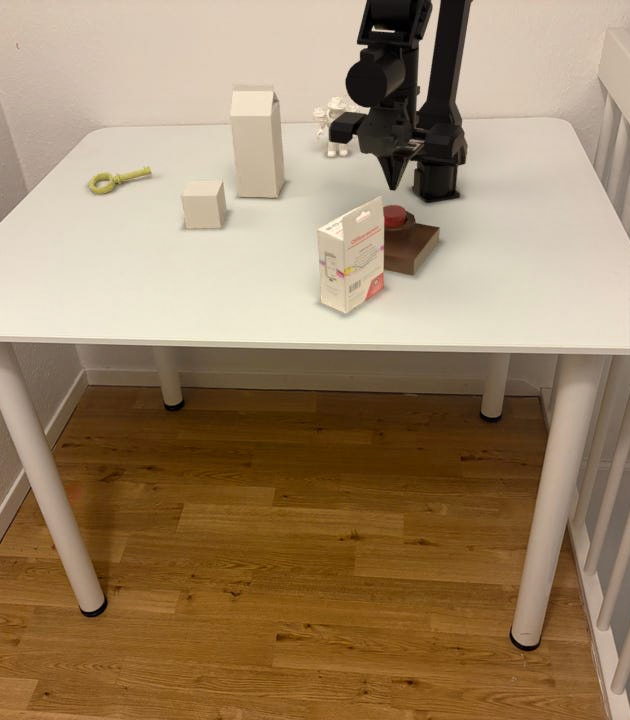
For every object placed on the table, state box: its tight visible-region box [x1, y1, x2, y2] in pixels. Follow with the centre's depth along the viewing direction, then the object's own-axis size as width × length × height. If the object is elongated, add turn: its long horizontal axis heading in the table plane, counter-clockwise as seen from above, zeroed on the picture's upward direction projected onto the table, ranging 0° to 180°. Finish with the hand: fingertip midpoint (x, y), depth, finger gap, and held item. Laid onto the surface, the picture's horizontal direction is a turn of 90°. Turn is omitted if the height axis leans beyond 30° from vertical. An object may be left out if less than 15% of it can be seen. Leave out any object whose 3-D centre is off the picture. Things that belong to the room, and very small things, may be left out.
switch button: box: [383, 204, 407, 226], centre depth 111 cm, size 4×4×2 cm
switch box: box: [384, 210, 441, 277], centre depth 112 cm, size 11×13×4 cm
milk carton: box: [229, 83, 286, 199], centre depth 127 cm, size 7×7×19 cm
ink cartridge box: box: [316, 195, 385, 314], centre depth 99 cm, size 9×5×15 cm, turn 136°
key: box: [88, 165, 152, 195], centre depth 140 cm, size 7×12×2 cm, turn 123°
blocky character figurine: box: [312, 91, 361, 158], centre depth 141 cm, size 9×4×12 cm, turn 89°
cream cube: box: [180, 179, 228, 229], centre depth 123 cm, size 6×6×6 cm
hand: (393, 189), depth 109 cm, fingers closed
